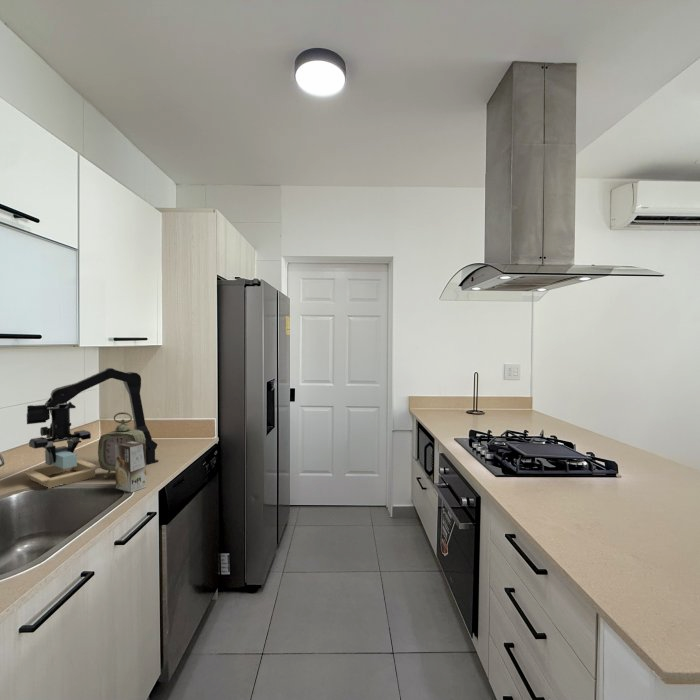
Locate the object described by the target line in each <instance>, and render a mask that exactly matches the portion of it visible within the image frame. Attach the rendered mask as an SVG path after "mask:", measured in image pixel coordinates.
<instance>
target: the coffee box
mask: <svg viewBox="0 0 700 700" xmlns="http://www.w3.org/2000/svg"><path fill="white" fill-rule="evenodd" d="M115 467H116V471H115V489H118V490H121V491H124V492H128V493H133V492H136V491H140V490H142V489H145V488H147V464H146V443H142V442H136V441H126V442H122V443H118V444H115Z"/></svg>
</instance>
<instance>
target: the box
mask: <svg viewBox="0 0 700 700" xmlns="http://www.w3.org/2000/svg"><path fill="white" fill-rule="evenodd" d="M55 447H56V462H55V463H53V461H52V459H51V457H50V455H49V453H48V451H47V450H46V449H45V448H44V455H45V456H44V457H45V459H44V460H45V464H46V466H47V465H55V466H57V467H59V468H62V469H66V468H71V467H75V466H77V460H78V456H77V455H78V453H74V452H73V453H72V452H69V451H68V446H66V445H61V446H55Z"/></svg>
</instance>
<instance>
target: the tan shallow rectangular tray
mask: <svg viewBox="0 0 700 700" xmlns="http://www.w3.org/2000/svg"><path fill="white" fill-rule="evenodd" d="M97 469H101V467H100V465H97V464H94V463H92V462H89V461H87V460H83V459H77V466H75V467H71V468H66V469H62V468H59V467H57V466H55V465H47V464H46V465H43V466H38V467H35V468H29V469H28V470H24V471H23V474H26V475H27V476H29V479H31V481H32V480H33V482H34V481H36V482H38V483H40V484H42V485H45V486H47V487H48V488H47V489H48V490H50V489H53V488H52V487H53V486H56V485H60V484H66V485H68V484H67V483H70V484H74V483H77V482H81V481H84V480H85V481H86V480H88V478H89V479H93V478H96V471H97ZM70 470H71V471H74V472H70ZM75 470H76V471H75ZM65 471H66V472H70V473H65ZM60 472H62V473H65V474H61V473H60ZM56 473H58V474H61V475H57V474H56ZM52 474H53V475H57V476H53V475H52ZM48 475H49V476H48ZM50 476H53V477H50ZM92 477H93V478H92ZM36 482H35V483H36ZM73 482H74V483H73ZM38 483H37V484H38ZM40 484H39V485H40ZM42 485H41V486H42Z"/></svg>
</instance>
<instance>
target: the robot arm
mask: <svg viewBox="0 0 700 700" xmlns="http://www.w3.org/2000/svg"><path fill="white" fill-rule="evenodd" d="M109 379H115V380H117V381H121V382H122V383H123V385H124V387H125V389H126V392H127V393H128V396H129V397H128V398H129V403H130V407H131V413H132V414H131V415H132V420H133V425H134V426H133V429H134V430H140V431H143V433H144V436H145V442H146V465H150V464H155V463H158V462H159V459H156V450H157V447H158V443H157V442H155V441H154V440H153V439H152V435H151V433H150V431H149V428H148V426H147V424H146V419H145V415H144V408H143V404H142V403H143V402H142V398H141V397H142V396H141V389H142V377H141V375H140V374H139V373H138V372H135V371H128V372H125V371H122V370H121V371H120V370H117V369H114V368H112V367H107V368H105V370H104V369H103V370H101V371H99V372H98V373H95V374H93V375H91V376H89V377H86V378H83V379H82V380H79V381H78V382H75V383H71V384H68V385H67V384H66V385H63V386H60V387H56V388H54V389H53V390H52V391H51V393H50V398H49V399H48V400H47V401H45V403H44V404H39V405H36V404H35V405H33V404H31V405H27V407H26V425H33V424H34V425H35V424H42V423H43V424H44V423H46V422H47V421H49V420H50V418H51V423H50V425H49V427H48V426H42V427H40V433H39V434H40V437H34V438H31V439H30V440H29V442H28V446H29V448H32V449H41V448H43V449H44V450H45V449H46V450H47V451H48V453H49V455H50V457H51V459H52V461H53V463H55V462H56V447H57V446H56V445H54V443H58V442H59V443H60V442H65V441H66V444H67V447H68V451H69V452H72V453H74V452H75V450H76V448H77V447H78V445H79V443H82V441H83V440H84V441H85V440H90V439H91V438H92V434H91V432H90V431H88V430H85V429H83V430H82V429H81V430H77V431H74V432H73V434H72V433H71V426H72V423H71V417H70V416H71V414H70V413H71V412H70V411H71V409H76V405H75V404H74V403H72V402H71V400H72V399H74V398H75V397H77V395H79V394H80V393H82V392H84V391H86V390H88V389H90V388H93V387H95V386H96V385H99V384H101V383H103V382H105V381H108V380H109ZM67 402H68V403H67ZM50 412H51V414H50ZM50 416H51V417H50ZM45 436H46V437H45ZM80 439H81V440H80Z"/></svg>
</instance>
